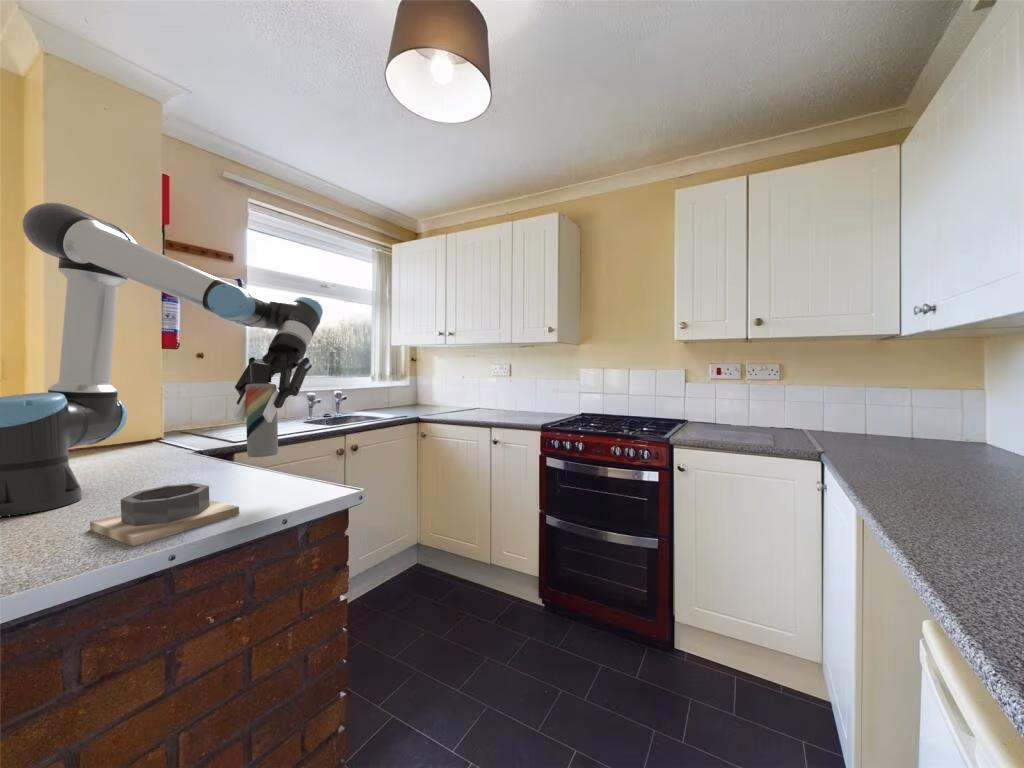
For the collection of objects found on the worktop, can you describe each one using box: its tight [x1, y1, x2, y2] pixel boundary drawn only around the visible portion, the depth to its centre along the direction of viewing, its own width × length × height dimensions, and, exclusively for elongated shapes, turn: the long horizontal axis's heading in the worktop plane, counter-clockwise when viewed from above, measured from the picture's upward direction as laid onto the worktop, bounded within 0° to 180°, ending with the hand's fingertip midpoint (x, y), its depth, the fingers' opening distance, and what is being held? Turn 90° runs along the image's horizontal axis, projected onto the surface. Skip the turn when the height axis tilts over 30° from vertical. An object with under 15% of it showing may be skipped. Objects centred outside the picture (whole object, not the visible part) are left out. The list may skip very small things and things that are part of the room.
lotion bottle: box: [245, 362, 279, 458], centre depth 88 cm, size 6×6×20 cm
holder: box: [89, 482, 240, 547], centre depth 75 cm, size 16×16×6 cm
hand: (252, 418), depth 84 cm, fingers closed on lotion bottle, 5 cm apart
